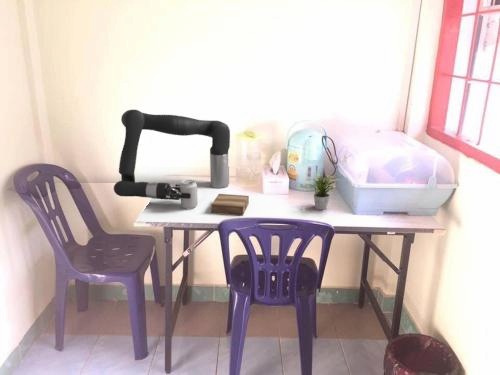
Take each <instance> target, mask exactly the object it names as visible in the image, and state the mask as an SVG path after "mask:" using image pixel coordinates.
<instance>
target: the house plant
mask: <svg viewBox="0 0 500 375" xmlns="http://www.w3.org/2000/svg"><path fill="white" fill-rule="evenodd" d="M332 177H333V175H330V174H327V176H326V177H325V179H324V178H323V174H322V173H317V180H316V178H314V177H313V176H311V179H313V180H312V182H314V184H315V185H316V186H315V185H313V184H309V185H308V187H311V188H313V189H314V190H315V191H314V193H313V200H314V208H315V209H316V210H322V211H323V210H327V207H328V204H329V200H330V194H329V193H328V192H331V193H332V194H333V193H334V191H333V190H335V189H336V188H335V187H338V185H336V186H335V185H334V186H333V185H332V184H335V183H336V184H337V183H339V182H338V180H340V178H337V179H333V180H331V178H332Z"/></svg>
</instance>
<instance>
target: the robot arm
mask: <svg viewBox="0 0 500 375" xmlns="http://www.w3.org/2000/svg"><path fill="white" fill-rule="evenodd" d="M120 120H121V124H122V125H123V126H124V127H125V136H124V137H125V138H124V143H123V147H122V150H121V153H120V158H119V164H118V173H119V174H120V175H121V178H120V179H121V180H119V181H117V182H116V183H115V184H114V185H113V192H114V193H115V194H116V195H117V196H119V197H140V198H148V199H153V200H172V201H180V200H181V199H182V198H186V199H190V198H191V194H190V193H180V185H181V184H177V183H176V184H175V185H173V186H171V184H170V183H169V182H159V181H151V182H150V181H149V182H148V181H136V178H135V177H136V176H135V170H136V163H137V156H138V149H139V148H138V147H139V143H140V142H139V141H140V137H141V135H142V132H143V130H144V131H145V130H146V131H155V132H159V133H162V134H166V135H173V136H174V135H175V136H183V137H186V136H187V137H188V136H193V135H198V136H204V137H209V138H211V141H212V142H211V143H212V144H211V147H210V148H209V171H210V178H209V179H210V186H211V187H212V188H214V189H225V188H228V186H229V185H230V166H229V149H230V146H231V130H230V127H229V125H228V124H226V123H225V122H222V121H220V120H207V119H205V120H204V119H203V120H202V119H196V118H192V117H188V116H182V115H176V114H150V113H146V112H142V111H141V110H138V109H128V110H126V111H124V112H123V113H122V115H121V119H120Z"/></svg>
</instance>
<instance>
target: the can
mask: <svg viewBox="0 0 500 375" xmlns="http://www.w3.org/2000/svg"><path fill="white" fill-rule="evenodd" d="M179 185H180V193H190V194H191V198H190V199H186V198H182V199H180V206H181V207H182V209H185V210H192V209H195V208H196V207H198V204H199V203H198V184H197V183H196V180H193V179H185V180H182V181H181V183H180V184H179Z"/></svg>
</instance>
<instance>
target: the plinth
mask: <svg viewBox="0 0 500 375" xmlns="http://www.w3.org/2000/svg"><path fill="white" fill-rule="evenodd" d="M249 196H250V195H242V194H226V193H218V195H217V196H216V198H214V200H213V201H212V202H211V204H210V206H211V207H210V208H211V211H210V212H211V213H210V214H219V215H221V214H222V215H234V216H243V215H244V214H245V212H246V210H247V208H248V206H249V199H250V198H249Z"/></svg>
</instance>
